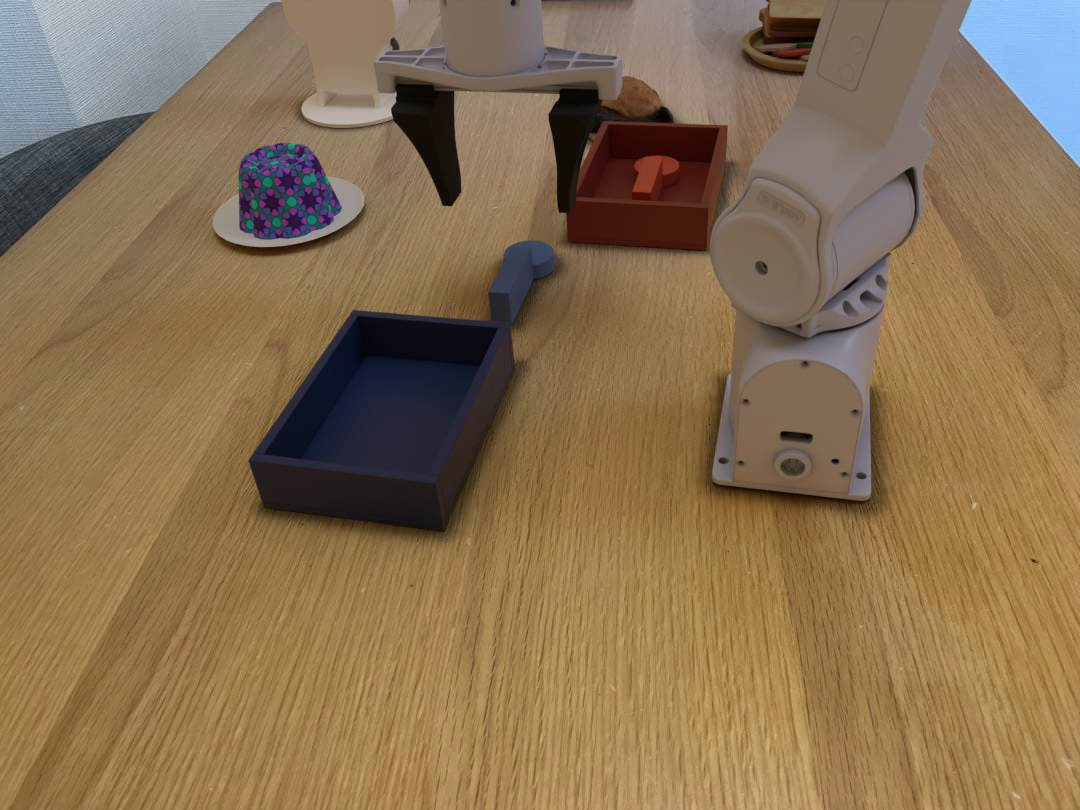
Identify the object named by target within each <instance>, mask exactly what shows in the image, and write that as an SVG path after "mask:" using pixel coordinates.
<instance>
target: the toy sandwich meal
mask: <svg viewBox="0 0 1080 810" xmlns="http://www.w3.org/2000/svg"><path fill="white" fill-rule="evenodd" d="M765 1H766V2H767V3H768V4H767V6H766V7H763V8H760V10H759V13H758V20H759V22H761V24H762V26H759V27H756V28H754V29H752V30H751V31H749V32H747V33H746V34H745V35H744V36H743V38H742V39H741V46H742V49H743V50H744V51H745V52H746V53H747V54H748V55H749V57H750V58H751V59H752V60H753V61H754V62H756V63H757V64H759V65H761V66H764V67H767V68H769V69H773V70H777V71H783V72H793V73H804V72H805V69H806V66H807V62H808V59H809V56H810V53H811V50H812V46H813V43H814V40H815V37H816V33H817V30H818V27H819V24H820V21H821V17H822V14H823V11H824V8H825V4H826V1H827V0H765Z"/></svg>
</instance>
